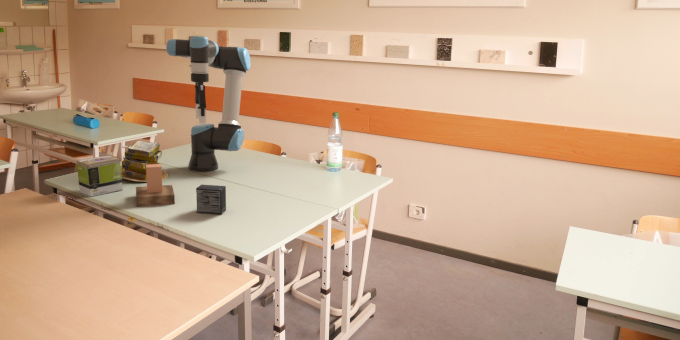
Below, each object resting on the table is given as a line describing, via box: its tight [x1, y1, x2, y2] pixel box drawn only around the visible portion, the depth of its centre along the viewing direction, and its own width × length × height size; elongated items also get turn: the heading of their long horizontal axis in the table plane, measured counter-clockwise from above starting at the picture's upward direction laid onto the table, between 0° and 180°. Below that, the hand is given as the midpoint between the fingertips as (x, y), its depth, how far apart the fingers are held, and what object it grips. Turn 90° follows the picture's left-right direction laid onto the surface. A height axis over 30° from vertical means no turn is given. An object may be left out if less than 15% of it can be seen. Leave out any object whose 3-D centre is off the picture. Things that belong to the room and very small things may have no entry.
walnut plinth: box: [135, 184, 176, 207], centre depth 230 cm, size 15×15×4 cm
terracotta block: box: [146, 163, 163, 193], centre depth 228 cm, size 6×5×11 cm
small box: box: [195, 184, 227, 215], centre depth 218 cm, size 11×6×10 cm, turn 84°
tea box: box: [76, 154, 123, 197], centre depth 236 cm, size 15×10×15 cm, turn 141°
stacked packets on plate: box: [121, 140, 169, 183], centre depth 262 cm, size 25×25×17 cm
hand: (200, 120), depth 240 cm, fingers open, 13 cm apart
